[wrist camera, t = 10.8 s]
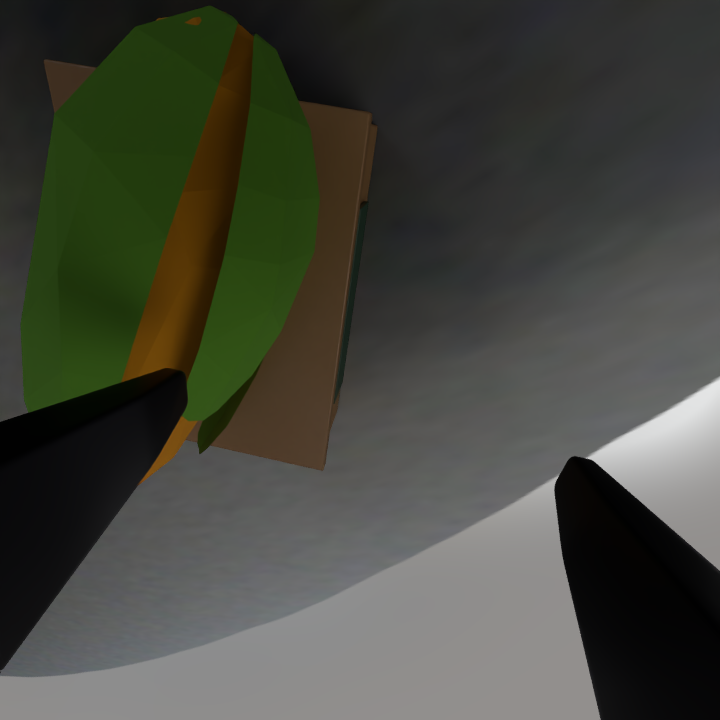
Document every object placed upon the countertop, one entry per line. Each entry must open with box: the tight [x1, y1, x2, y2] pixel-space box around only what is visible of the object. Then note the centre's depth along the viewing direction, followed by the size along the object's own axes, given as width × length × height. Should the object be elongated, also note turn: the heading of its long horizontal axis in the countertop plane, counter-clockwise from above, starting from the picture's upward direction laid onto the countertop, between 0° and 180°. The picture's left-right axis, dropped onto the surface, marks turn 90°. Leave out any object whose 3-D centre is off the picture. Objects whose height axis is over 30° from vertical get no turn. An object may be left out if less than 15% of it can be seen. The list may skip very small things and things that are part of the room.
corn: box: [21, 6, 320, 484], centre depth 14 cm, size 7×8×20 cm
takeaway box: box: [44, 59, 377, 471], centre depth 20 cm, size 17×12×5 cm
